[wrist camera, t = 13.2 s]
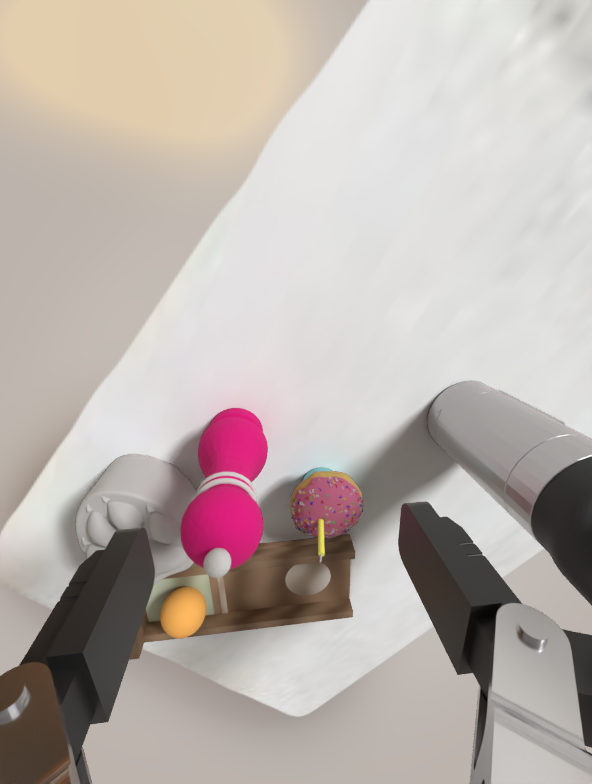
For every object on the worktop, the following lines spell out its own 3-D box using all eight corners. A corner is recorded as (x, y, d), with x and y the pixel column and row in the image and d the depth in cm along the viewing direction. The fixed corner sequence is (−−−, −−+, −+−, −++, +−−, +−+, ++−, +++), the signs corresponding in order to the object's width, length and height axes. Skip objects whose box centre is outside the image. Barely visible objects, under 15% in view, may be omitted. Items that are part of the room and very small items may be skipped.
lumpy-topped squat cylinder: (147, 549, 45) (123, 611, 37) (81, 476, 40) (36, 529, 32) (216, 515, 44) (207, 570, 36) (156, 437, 39) (129, 480, 31)
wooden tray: (349, 534, 47) (359, 564, 42) (347, 597, 51) (356, 631, 46) (125, 557, 45) (109, 591, 40) (141, 622, 49) (129, 659, 44)
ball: (206, 574, 45) (198, 615, 40) (211, 604, 47) (204, 646, 42) (164, 578, 45) (150, 619, 40) (170, 608, 47) (158, 651, 42)
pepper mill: (254, 465, 42) (251, 623, 23) (197, 448, 40) (143, 604, 22) (275, 414, 40) (290, 543, 21) (215, 395, 38) (173, 515, 20)
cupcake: (298, 517, 45) (310, 599, 34) (278, 465, 42) (284, 536, 31) (359, 497, 45) (392, 572, 34) (343, 444, 42) (374, 507, 31)
